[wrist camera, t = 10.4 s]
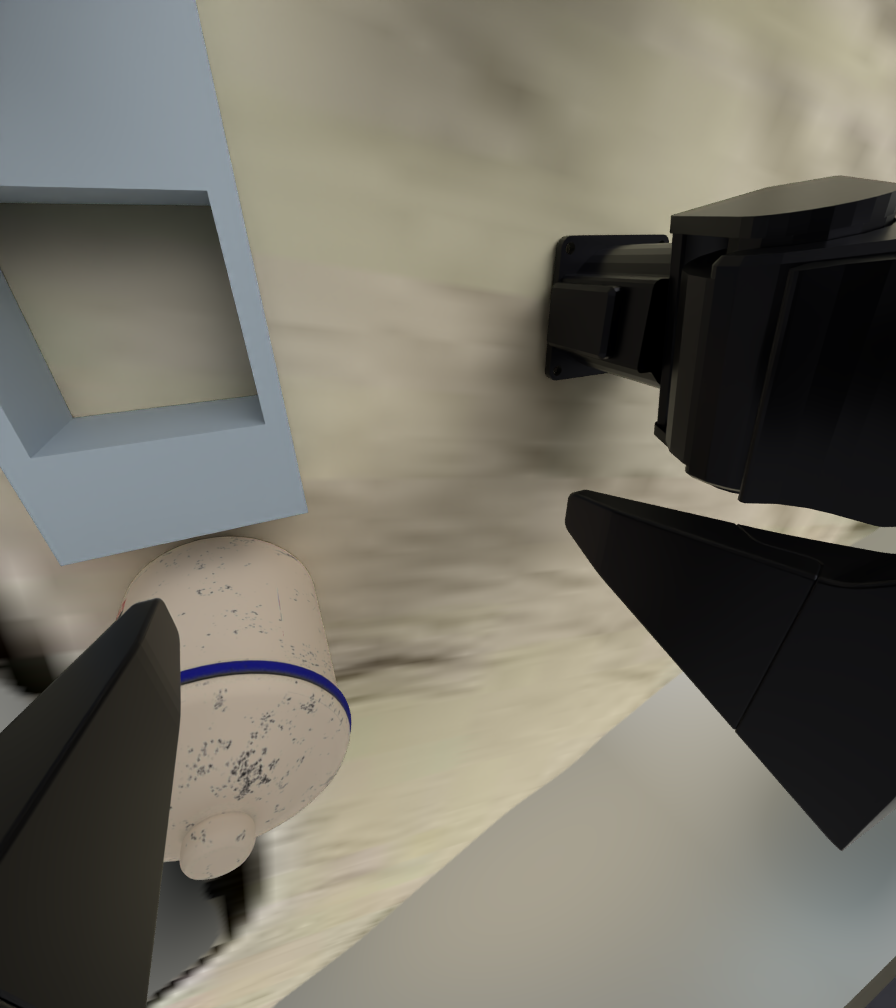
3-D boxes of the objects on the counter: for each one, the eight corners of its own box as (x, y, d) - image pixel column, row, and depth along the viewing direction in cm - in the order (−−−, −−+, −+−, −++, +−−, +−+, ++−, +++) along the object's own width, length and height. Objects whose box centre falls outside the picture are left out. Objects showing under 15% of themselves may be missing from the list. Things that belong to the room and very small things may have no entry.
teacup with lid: (68, 574, 18) (-110, 907, 9) (282, 501, 20) (319, 704, 11) (204, 724, 25) (182, 1004, 15) (354, 656, 27) (414, 866, 18)
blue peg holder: (-578, -786, 6) (-1440, -1888, 3) (83, -486, 9) (-6, -908, 6) (93, 509, 17) (60, 566, 14) (297, 471, 20) (308, 512, 17)
